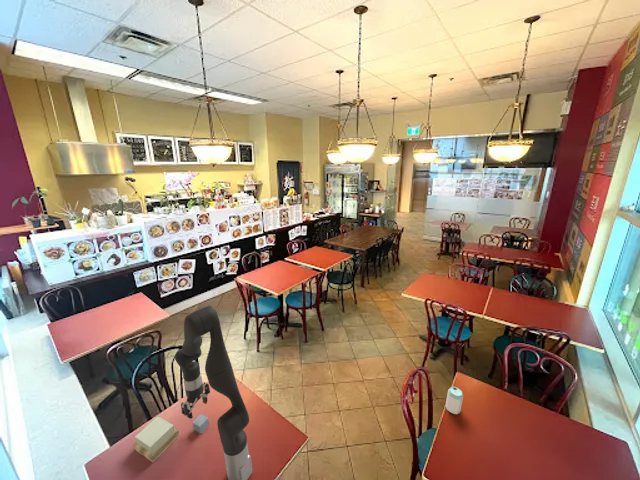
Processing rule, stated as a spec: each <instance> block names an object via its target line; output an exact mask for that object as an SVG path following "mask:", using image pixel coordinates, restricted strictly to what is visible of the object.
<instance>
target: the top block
mask: <svg viewBox="0 0 640 480" xmlns="http://www.w3.org/2000/svg"><path fill="white" fill-rule="evenodd" d="M174 428H175V426H174V424H173V423H171V422H169V421H167V420H165V419H164V418H163V417H160V416H157V417H155V418H154V419H153V420H152V421H151V422H150V423H148V424H147V425H146V426H145V427H144V428H143V429H142V430H140V432H138V433H137V434H136V435H135V436H134V438H135V442H137V444H139V445H140V446H142V447H143V448H144V449H146V450H147V451H149V452H150V453H152V454H153V453H154V452H155V451H156V450H157V449H158V448H159V447H160V446H161V445H162V444H163V443H164V442H165V441H166V440H167V439H168V438H169V437H170V436H171V435H172V434H173V433H174V432H175V430H174Z"/></svg>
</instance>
